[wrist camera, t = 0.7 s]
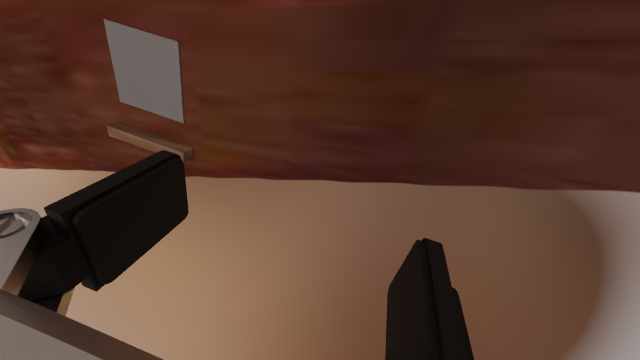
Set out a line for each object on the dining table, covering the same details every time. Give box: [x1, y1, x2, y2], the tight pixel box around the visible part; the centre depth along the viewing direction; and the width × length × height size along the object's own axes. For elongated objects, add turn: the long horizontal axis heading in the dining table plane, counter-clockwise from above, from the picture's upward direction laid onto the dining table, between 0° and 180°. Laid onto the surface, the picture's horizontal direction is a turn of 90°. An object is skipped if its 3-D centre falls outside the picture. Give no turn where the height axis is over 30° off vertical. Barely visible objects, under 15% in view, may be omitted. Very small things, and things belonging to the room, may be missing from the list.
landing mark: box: [104, 19, 184, 123], centre depth 42 cm, size 13×13×1 cm
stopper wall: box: [107, 122, 193, 162], centre depth 47 cm, size 2×16×2 cm, turn 77°
